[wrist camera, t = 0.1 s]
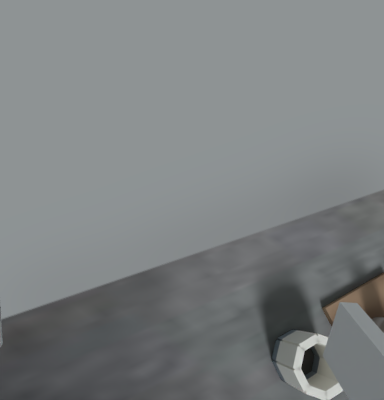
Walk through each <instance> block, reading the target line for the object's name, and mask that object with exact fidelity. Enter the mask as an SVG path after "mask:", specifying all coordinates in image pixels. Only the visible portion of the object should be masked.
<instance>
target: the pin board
mask: <svg viewBox="0 0 384 400" xmlns="http://www.w3.org/2000/svg"><path fill="white" fill-rule="evenodd" d="M340 302H348V303H358V305H359V306H360V307H361V308H362V309H363V310H364V311H365V313H366V314H367V315H368V316H369V317H370V318H371V319H372V320H373V322H374V323H375V324H376V325H377V326H378V327H379V328H380V330H381V331H382V332H383V333H384V273H381V274H380V275H378V276H376V277H375V278H373V279H371V280H369V281H368V282H366V283H364V284H363V285H361V286H359V287H357V288H356V289H354V290H352V291H350V292H349V293H347V294H345V295H344V296H342V297H340V298H338V299H337V300H335V301H333V302H331V303H330V304H328V305H326V306H325V307H323V308H322V309H323V311H324V313H325V315H326V317H327V318H328V320H329V322H330V324H331V326H332V325H333V322H334V319H335V315H336V312H337V309H338V306H339V303H340Z"/></svg>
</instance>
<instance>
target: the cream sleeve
mask: <svg viewBox="0 0 384 400" xmlns="http://www.w3.org/2000/svg"><path fill="white" fill-rule="evenodd" d="M277 339H278V340H276V343H275V347H274V351H273V355H272V359H273V361H272V362H273V364H274V366H275V368H276V370H277V372H278V374H279V376H280V379H281V380H282V381H284V382H286V383H287V384H289V385H291V386H293V387H295V388H296V389H298V390H300V391H302V392H304V393H305V394H308V395H311V396H313V397H316V398H319V399H322V400H330V399H331V398H333V397H334V396H336V395H337V394H339V393H340V392H342V391H343V389H342V387H341V386H340V384H339V382H338V381H337V379H336V377H335V376H334V374H333V372H332V370H331V369H330V367H329V365H328V364H327V362H326V360H325V359H324V357H323V353H324V350H325V347H326V344H327V341H328V337H325V336H323V335H320V334H317V333H311V332H306V331H300V330H295V329H294V330H290V331H289V332H287V333H285V334H284V335H282V336H280V337H278V338H277ZM309 348H311V350H312V352H313V354H314V355H315V357H314V362H313V366H312V371H311V372H309V373H308V374H306V375H304V373H303V371H302V370H301V366H302V362H303V357H304V352H305V350H307V349H309Z"/></svg>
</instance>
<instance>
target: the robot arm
mask: <svg viewBox="0 0 384 400" xmlns="http://www.w3.org/2000/svg"><path fill="white" fill-rule="evenodd" d="M2 344H3V342H2V326H1V310H0V347H1V345H2ZM323 357H324V359H325V360H326V362H327V364H328V365H329V367H330V369H331V370H332V372H333V374H334V376H335V377H336V379H337V381H338V382H339V384H340V386H341V387H342V389H343V391H344V393H345V394H346V396H347V398H348V399H349V400H384V333H383V332H382V331H381V330H380V328H379V327H378V326H377V325H376V324H375V323H374V322H373V320H372V319H371V318H370V317H369V316H368V315H367V314H366V313H365V311H364V310H363V309H362V308H361V307H360V306H359V305H358V303H348V302H340V303H339V306H338V309H337V312H336V315H335V319H334V322H333V325H332V328H331V331H330V334H329V337H328V341H327V344H326V347H325V350H324V353H323Z"/></svg>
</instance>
